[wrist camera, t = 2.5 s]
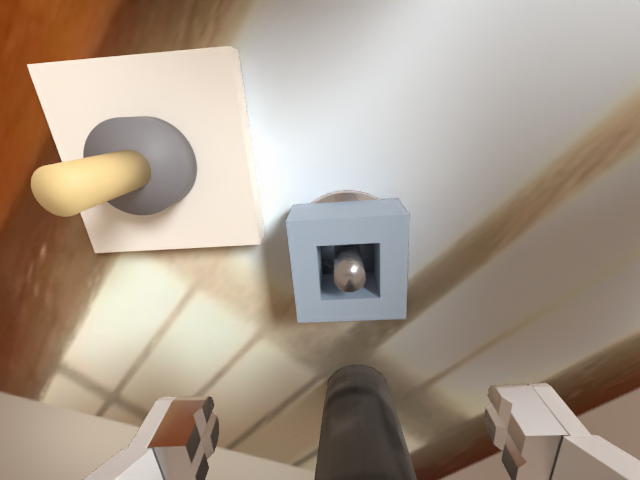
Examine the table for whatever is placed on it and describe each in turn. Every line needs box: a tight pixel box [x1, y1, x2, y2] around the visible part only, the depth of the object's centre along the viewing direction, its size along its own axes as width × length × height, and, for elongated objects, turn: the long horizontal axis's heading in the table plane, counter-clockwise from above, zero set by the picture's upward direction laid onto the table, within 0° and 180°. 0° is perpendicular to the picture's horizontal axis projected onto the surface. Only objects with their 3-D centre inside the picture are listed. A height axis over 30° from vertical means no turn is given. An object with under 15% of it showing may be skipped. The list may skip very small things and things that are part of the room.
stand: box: [310, 190, 379, 292], centre depth 18 cm, size 7×7×4 cm
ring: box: [286, 198, 409, 323], centre depth 18 cm, size 6×6×3 cm
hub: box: [27, 46, 265, 253], centre depth 15 cm, size 10×10×8 cm
